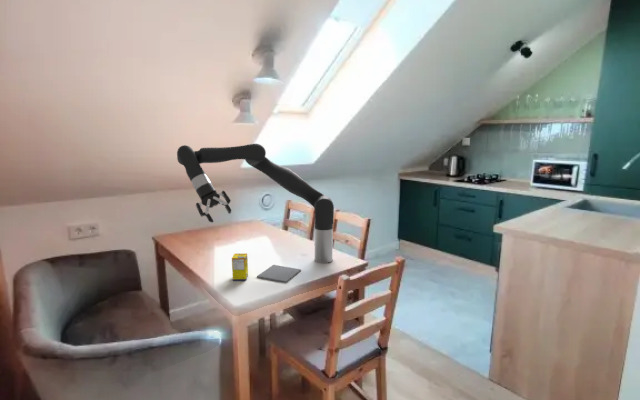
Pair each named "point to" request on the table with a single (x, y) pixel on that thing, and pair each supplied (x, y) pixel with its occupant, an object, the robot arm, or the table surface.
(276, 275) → the charcoal mat
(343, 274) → the table surface
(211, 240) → the table surface
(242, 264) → the supplement box
